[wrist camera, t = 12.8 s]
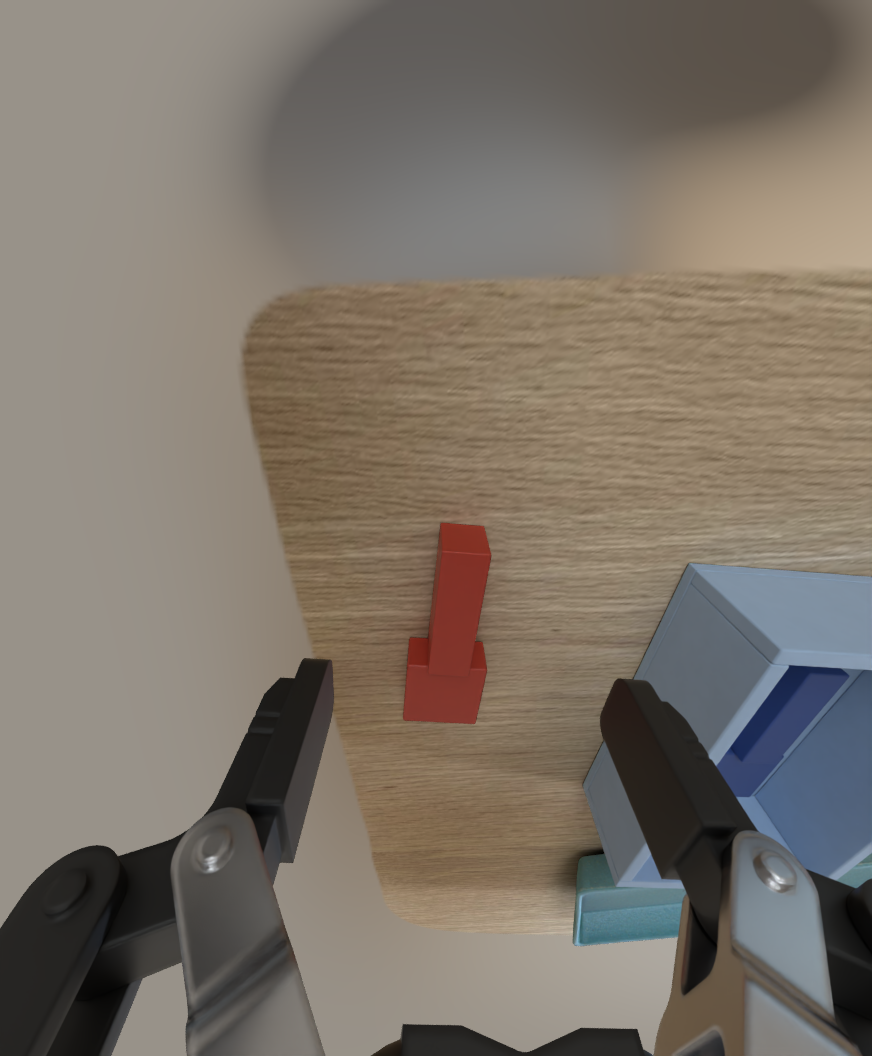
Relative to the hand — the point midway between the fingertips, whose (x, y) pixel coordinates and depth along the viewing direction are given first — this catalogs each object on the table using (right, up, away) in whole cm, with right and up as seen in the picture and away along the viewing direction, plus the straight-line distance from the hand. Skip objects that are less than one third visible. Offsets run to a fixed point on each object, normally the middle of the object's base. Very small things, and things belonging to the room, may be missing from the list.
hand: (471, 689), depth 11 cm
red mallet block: (0, +1, +5) cm, 5 cm away
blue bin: (+13, -4, +8) cm, 16 cm away
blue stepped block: (+13, -4, +7) cm, 16 cm away
